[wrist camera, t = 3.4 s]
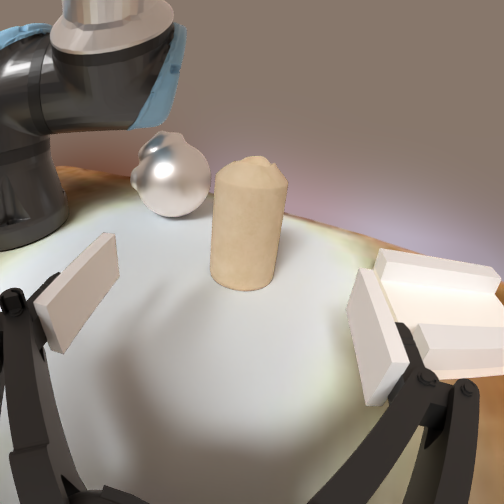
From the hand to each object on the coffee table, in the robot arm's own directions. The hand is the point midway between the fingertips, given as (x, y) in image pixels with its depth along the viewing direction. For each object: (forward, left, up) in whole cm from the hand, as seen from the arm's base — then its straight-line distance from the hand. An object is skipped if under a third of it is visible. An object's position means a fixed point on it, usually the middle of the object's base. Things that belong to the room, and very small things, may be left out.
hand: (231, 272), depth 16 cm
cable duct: (+20, +6, -6) cm, 22 cm away
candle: (0, +10, -6) cm, 11 cm away
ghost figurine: (-10, +21, -6) cm, 24 cm away
